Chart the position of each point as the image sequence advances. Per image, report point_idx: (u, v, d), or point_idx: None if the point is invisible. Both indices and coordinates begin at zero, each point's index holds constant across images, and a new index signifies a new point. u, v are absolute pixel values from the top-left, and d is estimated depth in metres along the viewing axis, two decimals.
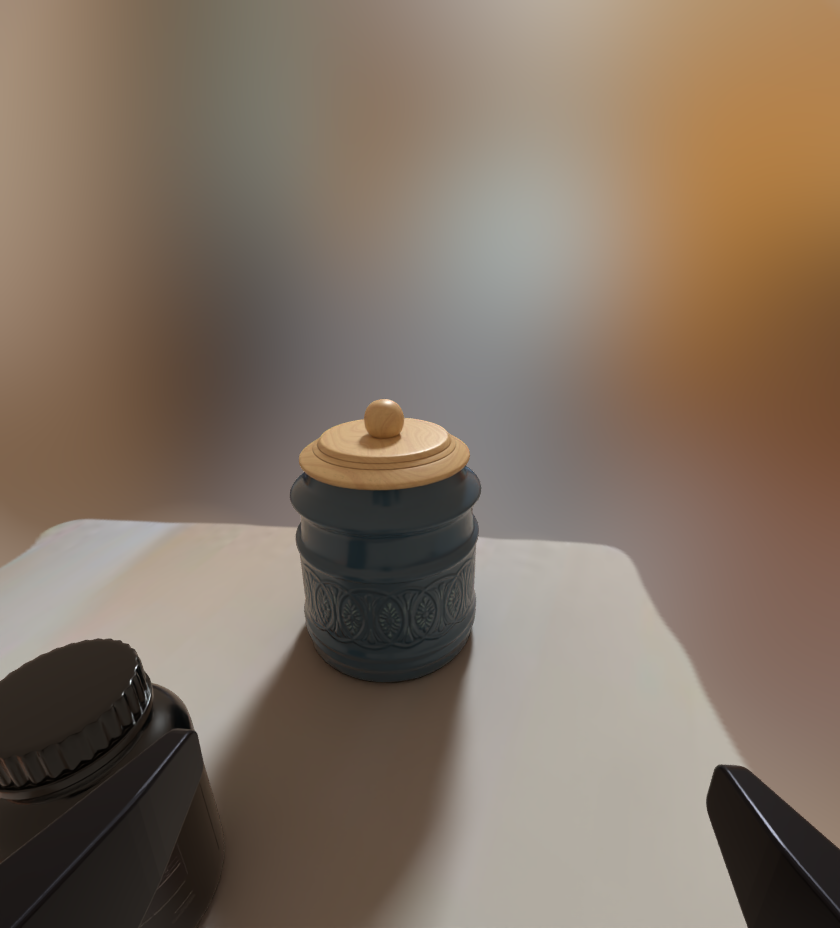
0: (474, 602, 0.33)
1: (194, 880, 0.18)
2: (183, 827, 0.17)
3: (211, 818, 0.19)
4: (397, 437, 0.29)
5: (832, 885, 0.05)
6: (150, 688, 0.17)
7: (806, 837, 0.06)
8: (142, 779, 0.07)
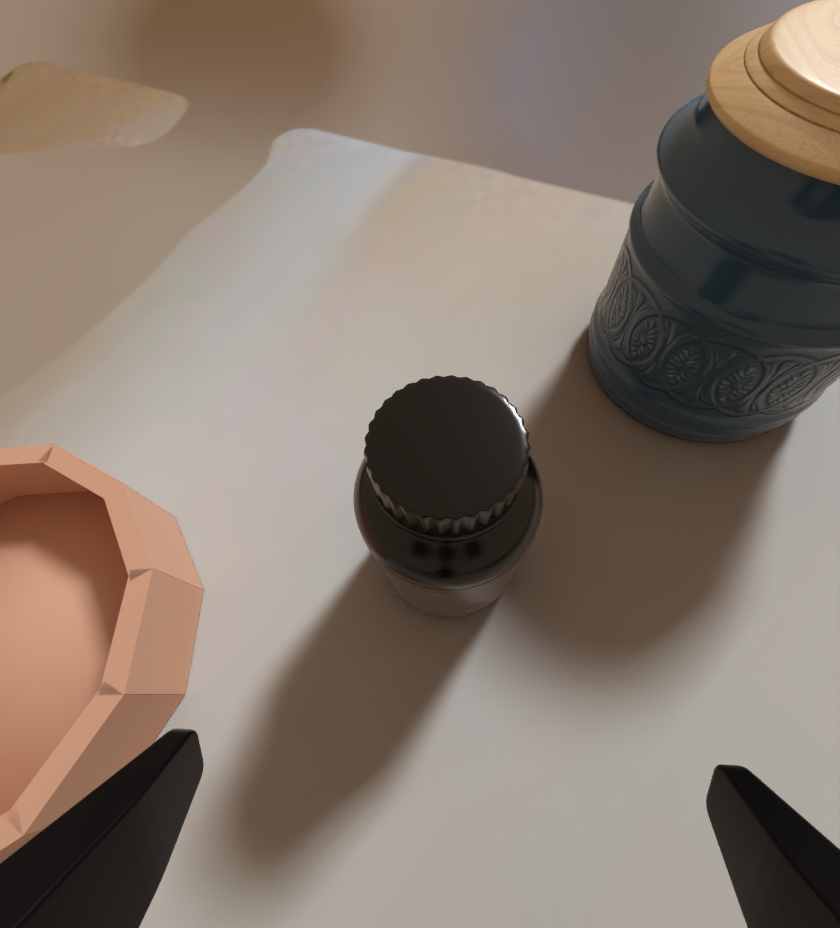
0: None
1: (508, 581, 0.20)
2: (521, 560, 0.17)
3: None
4: None
5: (832, 885, 0.05)
6: None
7: (806, 836, 0.06)
8: (142, 779, 0.07)
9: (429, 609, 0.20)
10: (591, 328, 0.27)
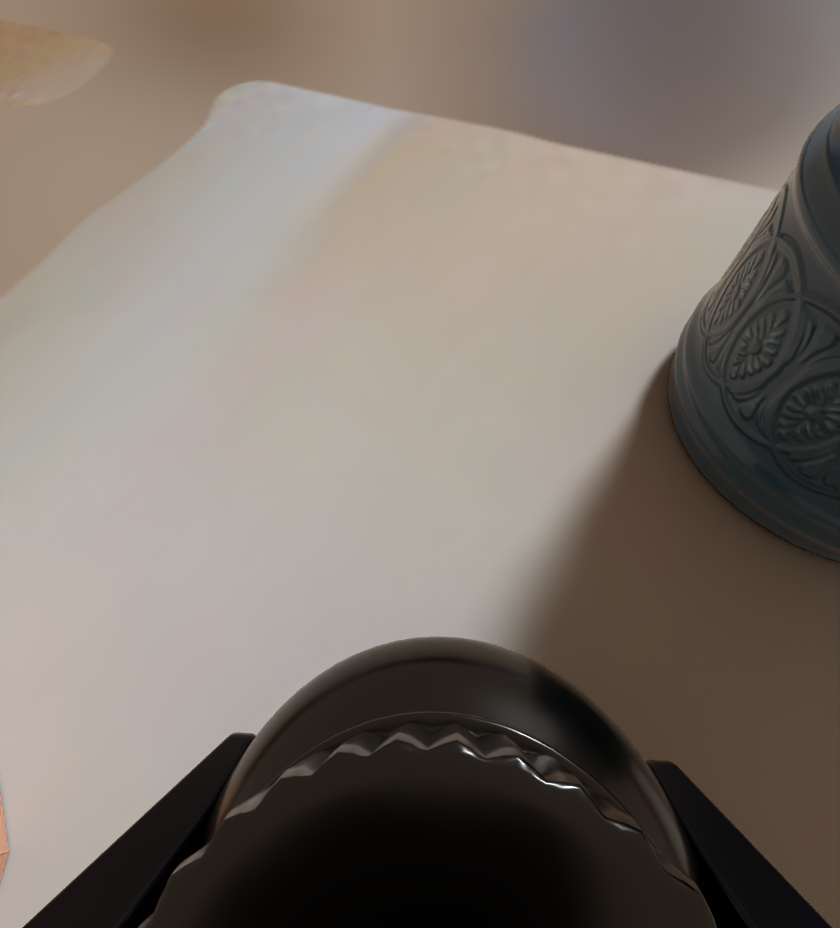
0: None
1: None
2: None
3: None
4: None
5: (735, 877, 0.05)
6: None
7: (719, 829, 0.06)
8: (212, 784, 0.07)
9: None
10: (680, 370, 0.17)
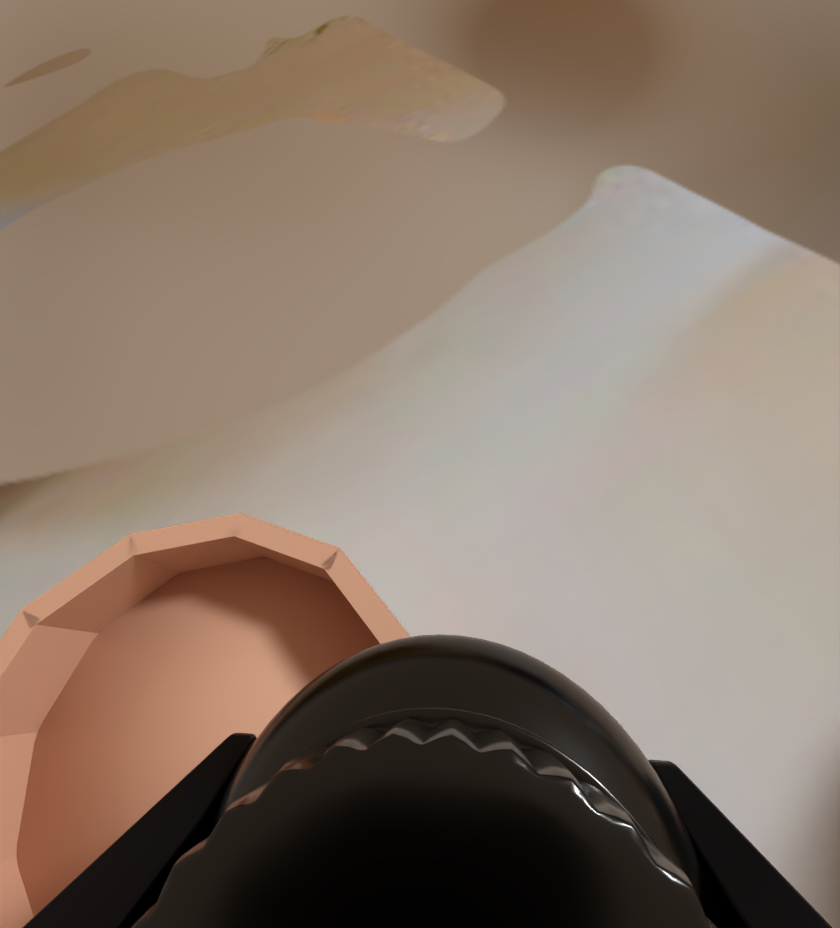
0: None
1: None
2: None
3: None
4: None
5: (735, 877, 0.05)
6: None
7: (720, 830, 0.06)
8: (212, 784, 0.07)
9: None
10: None
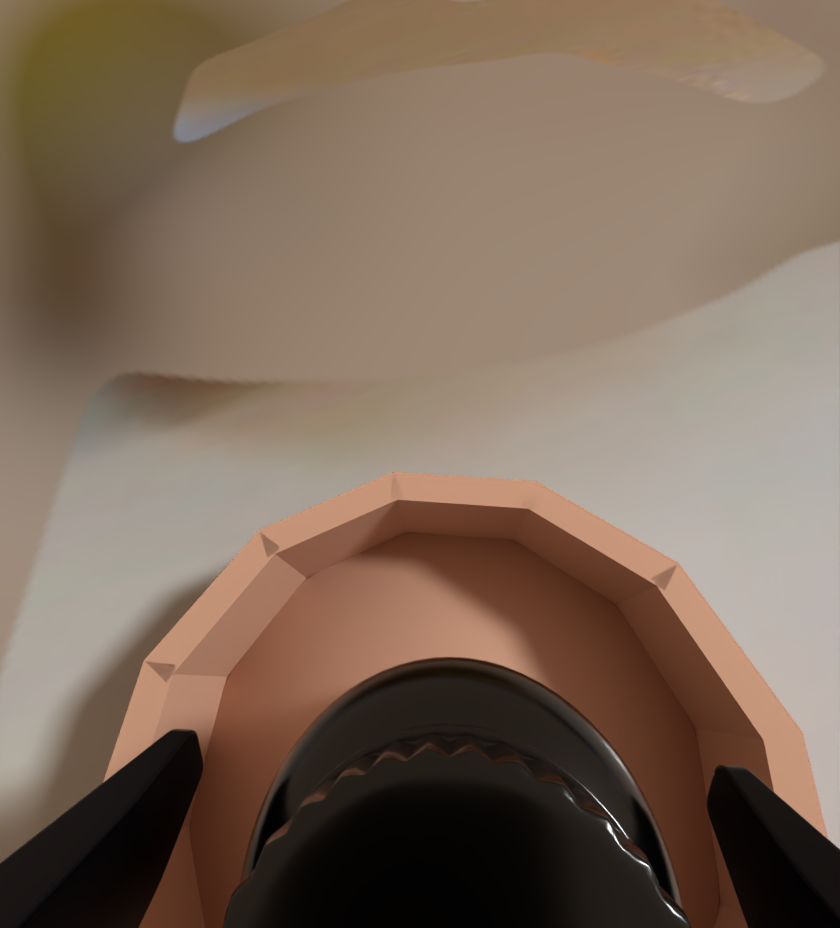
0: None
1: None
2: None
3: None
4: None
5: (832, 885, 0.05)
6: None
7: (806, 836, 0.06)
8: (142, 779, 0.07)
9: None
10: None
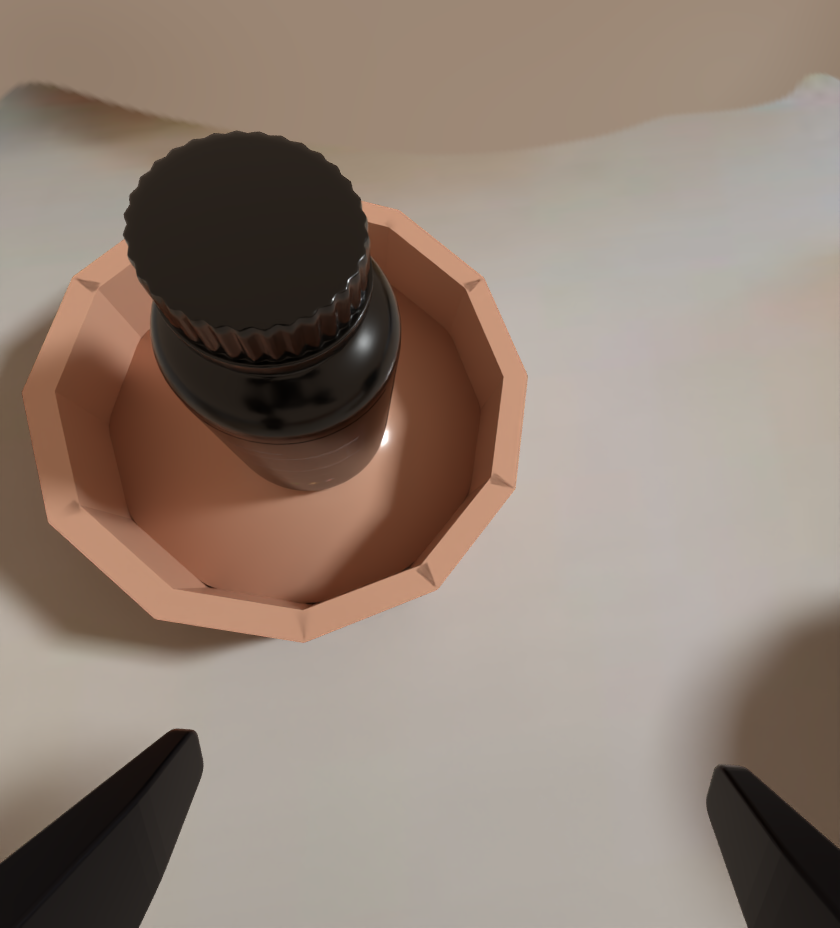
0: None
1: (364, 456, 0.18)
2: (371, 428, 0.15)
3: (388, 413, 0.17)
4: None
5: (832, 885, 0.05)
6: (371, 273, 0.11)
7: (806, 836, 0.06)
8: (142, 779, 0.07)
9: (267, 475, 0.17)
10: None
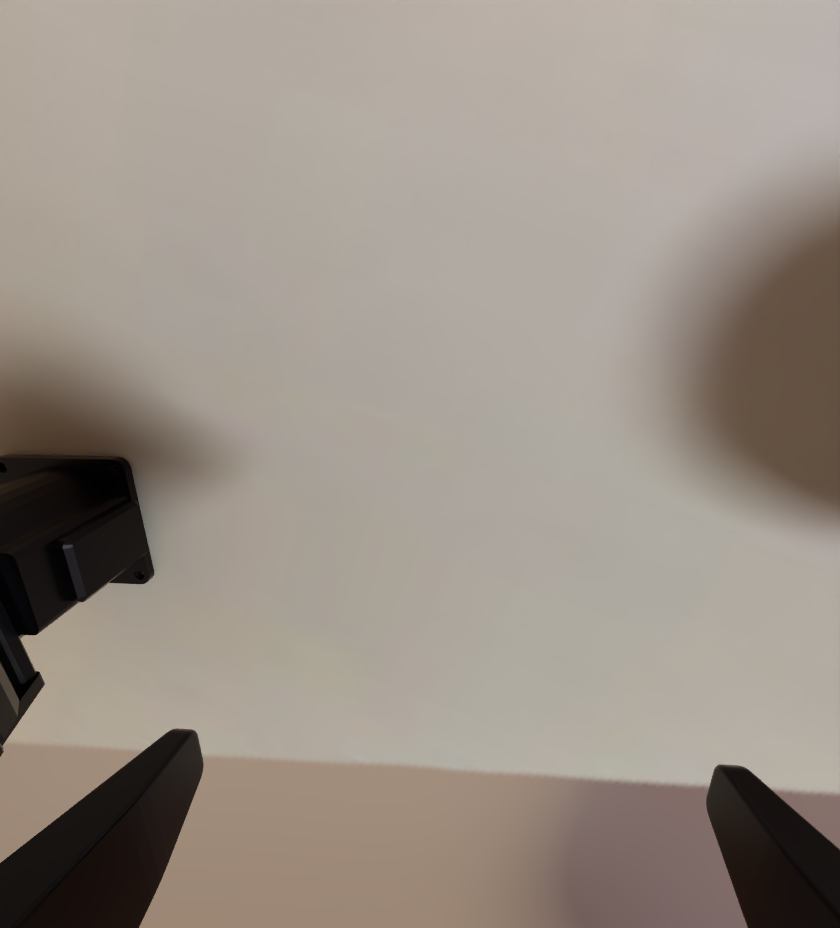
0: None
1: None
2: None
3: None
4: None
5: (832, 885, 0.05)
6: None
7: (806, 836, 0.06)
8: (142, 779, 0.07)
9: None
10: None
